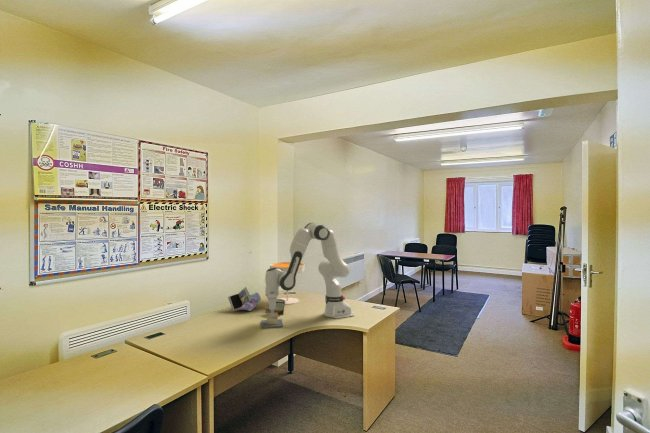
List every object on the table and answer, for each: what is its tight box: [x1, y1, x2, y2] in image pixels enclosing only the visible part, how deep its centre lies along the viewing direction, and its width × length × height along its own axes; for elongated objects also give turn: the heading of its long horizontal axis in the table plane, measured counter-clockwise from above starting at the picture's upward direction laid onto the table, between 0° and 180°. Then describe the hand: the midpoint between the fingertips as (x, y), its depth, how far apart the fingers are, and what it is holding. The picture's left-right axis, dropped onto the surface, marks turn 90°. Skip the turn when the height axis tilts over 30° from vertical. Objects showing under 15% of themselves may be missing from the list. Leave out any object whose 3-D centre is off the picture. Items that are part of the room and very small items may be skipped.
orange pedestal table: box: [269, 261, 306, 306], centre depth 279 cm, size 30×30×31 cm
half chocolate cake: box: [276, 298, 285, 316], centre depth 246 cm, size 12×6×10 cm, turn 84°
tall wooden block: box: [265, 308, 279, 324], centre depth 222 cm, size 5×9×9 cm, turn 100°
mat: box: [260, 318, 284, 330], centre depth 222 cm, size 14×14×1 cm
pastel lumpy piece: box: [227, 286, 262, 312], centre depth 256 cm, size 20×22×18 cm
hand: (272, 312), depth 222 cm, fingers open, 8 cm apart
